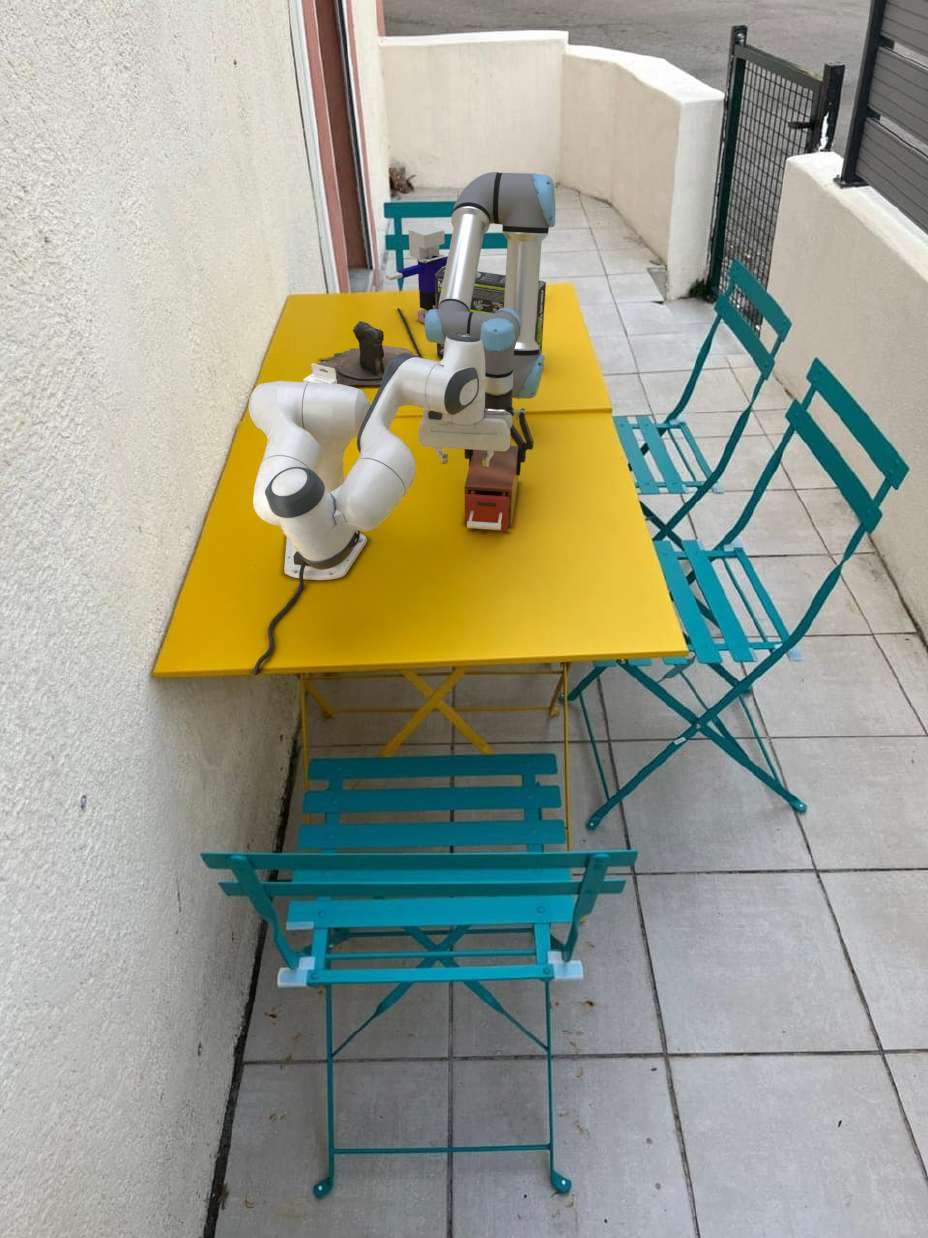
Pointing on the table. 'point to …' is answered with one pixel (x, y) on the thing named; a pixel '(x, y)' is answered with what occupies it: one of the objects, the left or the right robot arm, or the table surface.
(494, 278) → the box
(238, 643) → the table surface
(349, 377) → the sculpture
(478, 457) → the cabinet
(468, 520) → the drawer
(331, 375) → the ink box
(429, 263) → the toy
